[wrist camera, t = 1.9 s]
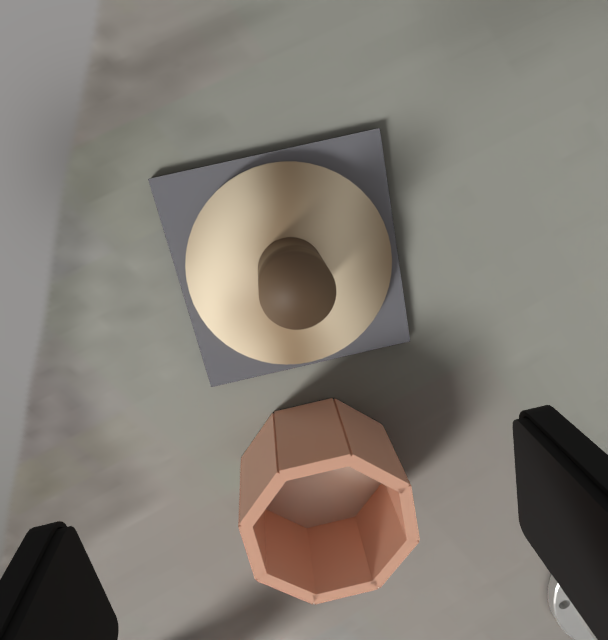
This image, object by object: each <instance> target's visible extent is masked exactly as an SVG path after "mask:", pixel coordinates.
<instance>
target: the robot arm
mask: <svg viewBox="0 0 608 640" xmlns="http://www.w3.org/2000/svg"><path fill="white" fill-rule="evenodd" d="M513 439H514V454H515V469H516V484H517V499H518V514H519V522H520V526H521V529H522V531H523V533H524V535H525V537H526V539H527V540H528V541H529V543H530V544H531V546H532V547H533V549H534V550H535V551H536V553H537V554H538V556H539V557H540V559H541V560H542V561H543V563H544V564H545V566H546V567H547V569H548V570H549V571H550V573H551V577H550V581H549V585H548V603H549V607H550V611H551V612H552V614H553V616H554V618H555V619H556V621H557V623H558V624H559V626H560V627H561V628H562V629H563V631H564V632H565V633H566V634H567V635H568V636H570V637H571V638H572V639H574V640H608V455H607V454H606V453H605V452H604V451H603V450H601V449H600V448H599V447H598V446H597V445H596V444H594V443H593V442H592V441H591V440H590V439H589V438H588V437H586V436H585V435H584V434H583V433H582V432H581V431H580V430H578V429H577V428H576V427H575V426H574V425H573V424H572V423H570V422H569V421H568V420H567V419H566V418H565V417H563V416H562V415H561V414H560V413H559V412H558V411H557V410H555V409H554V408H553V407H551V406H550V405H545V406H541V407H537V408H532V409H528V410H524V411H522V412H520V415H519V419H517V420H514V421H513ZM117 638H118V621H117V618H116V615H115V613H114V611H113V609H112V607H111V604H110V602H109V600H108V598H107V596H106V594H105V592H104V589H103V587H102V585H101V583H100V581H99V579H98V577H97V574H96V572H95V570H94V568H93V566H92V564H91V562H90V559H89V557H88V555H87V553H86V551H85V549H84V547H83V544H82V542H81V540H80V538H79V536H78V534H77V532H76V530H75V528H74V527H72V526H69V527H67V526H66V524H65V523H63V522H60V521H59V522H54V523H50V524H46V525H42V526H38V527H33V528H32V529H30V530H29V531H28V532H27V534H26V536H25V537H24V539H23V541H22V543H21V544H20V546H19V548H18V550H17V551H16V553H15V555H14V557H13V558H12V560H11V562H10V564H9V565H8V567H7V569H6V571H5V572H4V574H3V576H2V578H1V580H0V640H117Z"/></svg>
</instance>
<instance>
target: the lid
mask: <svg viewBox="0 0 608 640" xmlns="http://www.w3.org/2000/svg"><path fill="white" fill-rule="evenodd" d="M185 269H186V280H187V284H188V289H189V293H190V296H191V298H192V301H193V304H194V306H195V308H196V310H197V312H198V314H199V315H200V317H201V319H202V320H203V321H204V323H205V324H206V326H207V327H208V328H209V329H210V330H211V331H212V332H213V333H214V335H215V336H216V337H217V338H219V339H220V340H221V341H222V342H223V343H225V344H226V345H227V346H229V347H230V348H232V349H234V350H235V351H237V352H239V353H241V354H243V355H245V356H247V357H250V358H253V359H256V360H259V361H262V362H267V363H273V364H285V365H287V364H301V363H307V362H312V361H316V360H319V359H323V358H325V357H327V356H330V355H332V354H334V353H336V352H338V351H340V350H341V349H343V348H345V347H346V346H348V345H349V344H350V343H352V342H353V341H354V340H356V339H357V338H358V337H359V336H360V335H361V334H362V333H363V332H364V331H365V330H366V329H367V327H368V326H369V325H370V324H371V322H372V321H373V320H374V318H375V317H376V315H377V313H378V312H379V310H380V308H381V306H382V304H383V302H384V300H385V297H386V294H387V291H388V288H389V283H390V278H391V270H392V254H391V245H390V241H389V236H388V233H387V230H386V227H385V224H384V222H383V220H382V218H381V216H380V214H379V212H378V210H377V209H376V207H375V206H374V204H373V203H372V202H371V200H370V199H369V198H368V197H367V196H366V195H365V194H364V192H363V191H362V190H361V189H360V188H358V187H357V186H356V185H355V184H353V183H352V182H351V181H350V180H348V179H347V178H345V177H343V176H342V175H340V174H338V173H336V172H334V171H332V170H329V169H327V168H325V167H321V166H318V165H314V164H310V163H304V162H297V161H280V162H274V163H267V164H263V165H260V166H257V167H253V168H251V169H249V170H247V171H244V172H242V173H240V174H238V175H237V176H235V177H234V178H232V179H230V180H229V181H228V182H226V183H225V184H224V185H223V186H222V187H220V188H219V189H218V190H217V191H216V192H215V193H214V194H213V196H212V197H211V198H210V199H209V200H208V201H207V203H206V204H205V205H204V207H203V208H202V210H201V211H200V213H199V215H198V217H197V219H196V221H195V223H194V225H193V227H192V230H191V233H190V236H189V239H188V244H187V250H186V261H185Z"/></svg>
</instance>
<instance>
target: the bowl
mask: <svg viewBox="0 0 608 640" xmlns="http://www.w3.org/2000/svg"><path fill="white" fill-rule="evenodd" d="M238 527H239V530H240V533H241V536H242V540H243V543H244V546H245V549H246V552H247V555H248V559H249V562H250V565H251V568H252V571H253V574H254V578H255V579H257V581H258V582H260V583H263V584H265V585H268V586H270V587H272V588H275V589H277V590H279V591H282V592H284V593H287V594H289V595H291V596H294V597H296V598H299V599H301V600H303V601H306V602H308V603H311V604H313V603H315V604H319V603H323V602H327V601H331V600H335V599H340V598H344V597H348V596H352V595H356V594H360V593H364V592H369V591H373V590H377V589H378V587H379V588H381V586H382V585H383V584H384V583H385V582H386V581H387V579H388V578H389V577H390V576H391V575H392V573H393V572H394V571H395V570H396V569H397V568H398V566H399V565H400V564H401V563H402V562H403V560H404V559H405V558H406V557H407V556H408V555H409V553H410V552H411V551H412V550H413V549H414V547H415V546H416V545H417V544H418V543H419V540H420V538H419V532H418V525H417V519H416V513H415V507H414V500H413V494H412V488H411V484H410V482H409V480H408V478H407V476H406V474H405V472H404V469H403V467H402V465H401V463H400V461H399V459H398V457H397V454H396V452H395V450H394V448H393V446H392V444H391V442H390V439H389V437H388V435H387V433H386V431H385V429H384V427H383V425H382V424H380V423H379V422H377V421H375V420H373V419H371V418H370V417H368V416H366V415H364V414H362V413H361V412H359V411H357V410H355V409H353V408H352V407H350V406H348V405H346V404H344V403H343V402H341V401H339V400H337V399H334V400H333V398H330V399H326V400H321V401H317V402H313V403H308V404H304V405H300V406H296V407H291V408H287V409H283V410H278V411H274V413H272V414H271V415H270V417H269V418H268V420H267V421H266V423H265V424H264V425H263V427H262V428H261V430H260V431H259V433H258V434H257V436H256V437H255V438H254V440H253V441H252V443H251V444H250V446H249V447H248V448H247V450H246V451H245V453H244V454H243V456H242V457H241V472H240V499H239V526H238Z"/></svg>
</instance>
